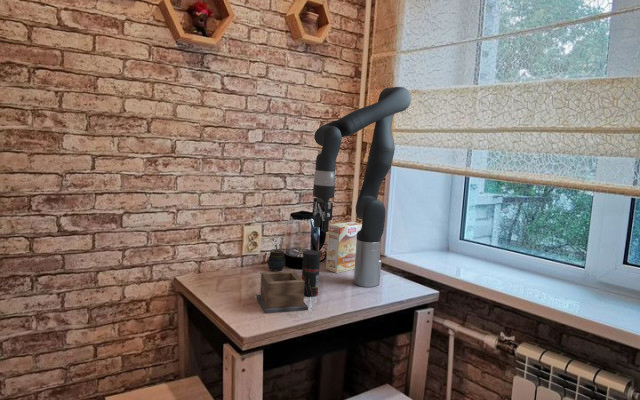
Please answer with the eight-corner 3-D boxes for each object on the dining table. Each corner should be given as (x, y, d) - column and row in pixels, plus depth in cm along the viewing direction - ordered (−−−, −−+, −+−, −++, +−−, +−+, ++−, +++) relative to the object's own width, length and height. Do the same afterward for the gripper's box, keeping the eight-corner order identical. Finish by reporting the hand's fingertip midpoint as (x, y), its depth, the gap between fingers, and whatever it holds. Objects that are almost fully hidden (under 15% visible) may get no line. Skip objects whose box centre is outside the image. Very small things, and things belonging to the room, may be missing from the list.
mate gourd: (270, 273, 174) (271, 248, 173) (265, 267, 181) (265, 244, 180) (287, 271, 177) (288, 247, 176) (281, 266, 184) (282, 243, 183)
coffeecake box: (336, 273, 178) (339, 227, 176) (325, 269, 183) (327, 224, 181) (361, 268, 188) (364, 223, 186) (349, 264, 193) (352, 221, 191)
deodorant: (315, 297, 149) (318, 255, 147) (299, 295, 150) (301, 253, 148) (319, 292, 155) (321, 251, 153) (303, 290, 156) (305, 249, 154)
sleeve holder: (295, 294, 151) (297, 269, 150) (307, 310, 138) (309, 282, 137) (256, 297, 146) (256, 271, 145) (264, 313, 133) (265, 285, 132)
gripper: (341, 186, 146) (337, 233, 148) (327, 182, 159) (324, 225, 161) (320, 185, 143) (317, 233, 145) (308, 181, 157) (304, 225, 159)
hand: (320, 229), depth 153 cm, fingers open, 8 cm apart
